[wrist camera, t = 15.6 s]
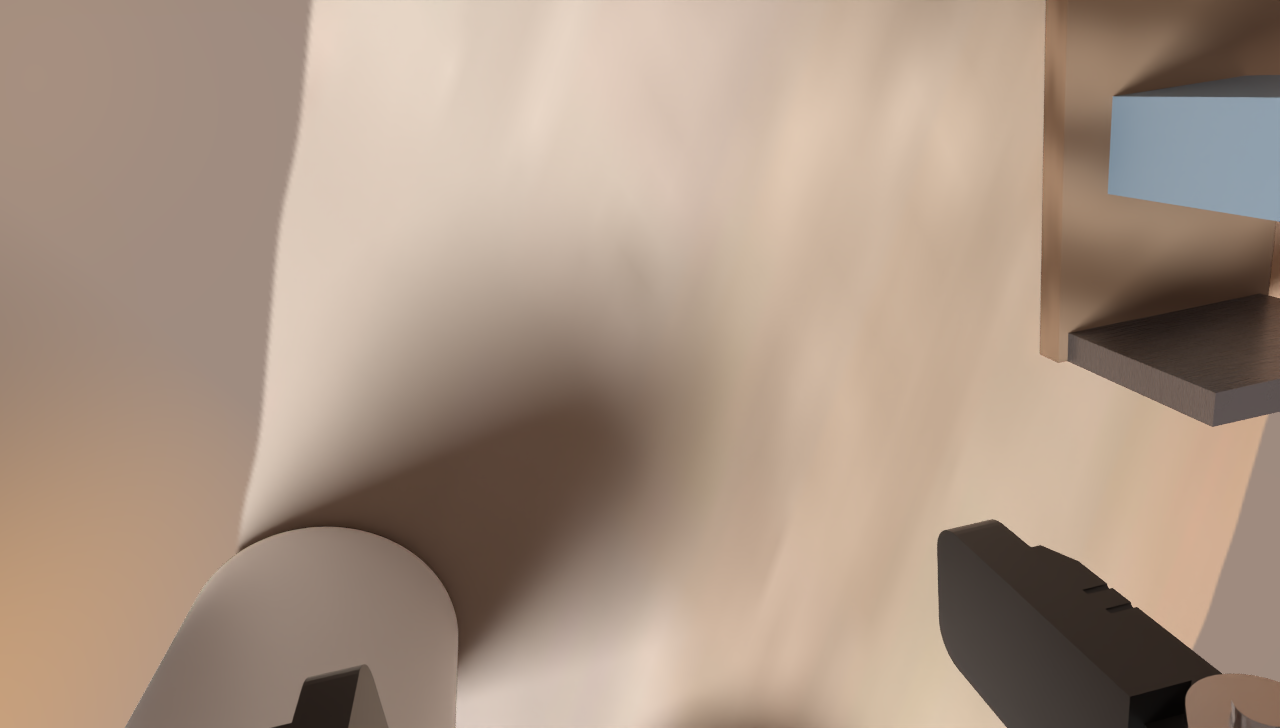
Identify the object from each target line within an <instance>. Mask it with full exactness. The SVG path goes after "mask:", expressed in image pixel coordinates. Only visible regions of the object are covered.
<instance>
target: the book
mask: <svg viewBox="0 0 1280 728" xmlns="http://www.w3.org/2000/svg"><path fill="white" fill-rule="evenodd" d="M1108 194H1111V195H1117V196H1123V197H1130V198H1136V199H1142V200H1148V201H1154V202H1161V203H1167V204H1173V205H1179V206H1185V207H1192V208H1198V209H1204V210H1210V211H1217V212H1223V213H1229V214H1235V215H1241V216H1248V217H1254V218H1260V219H1266V220H1272V221H1279V222H1280V75H1251V76H1240V77H1234V78H1227V79H1221V80H1215V81H1208V82H1202V83H1195V84H1189V85H1183V86H1176V87H1170V88H1164V89H1157V90H1151V91H1144V92H1138V93H1132V94H1125V95H1119V96H1113V100H1112V119H1111V139H1110V158H1109V178H1108Z"/></svg>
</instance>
